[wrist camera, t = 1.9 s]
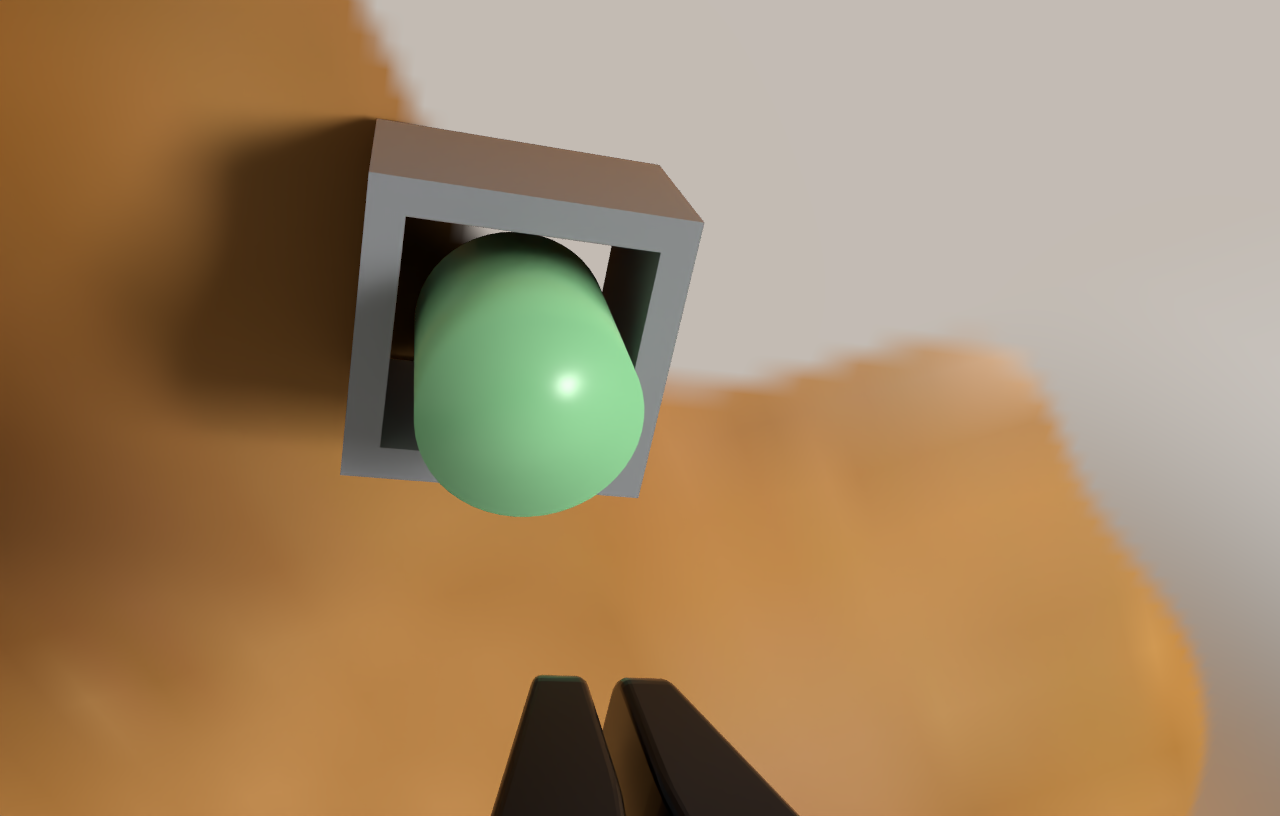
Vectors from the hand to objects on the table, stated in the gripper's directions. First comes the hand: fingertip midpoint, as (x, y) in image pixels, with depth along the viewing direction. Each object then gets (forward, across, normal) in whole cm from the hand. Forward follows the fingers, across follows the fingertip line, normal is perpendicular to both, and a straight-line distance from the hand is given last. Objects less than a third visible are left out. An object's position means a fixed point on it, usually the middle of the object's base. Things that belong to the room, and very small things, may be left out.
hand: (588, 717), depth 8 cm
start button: (+8, 0, 0) cm, 8 cm away
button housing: (+10, 0, 0) cm, 10 cm away
